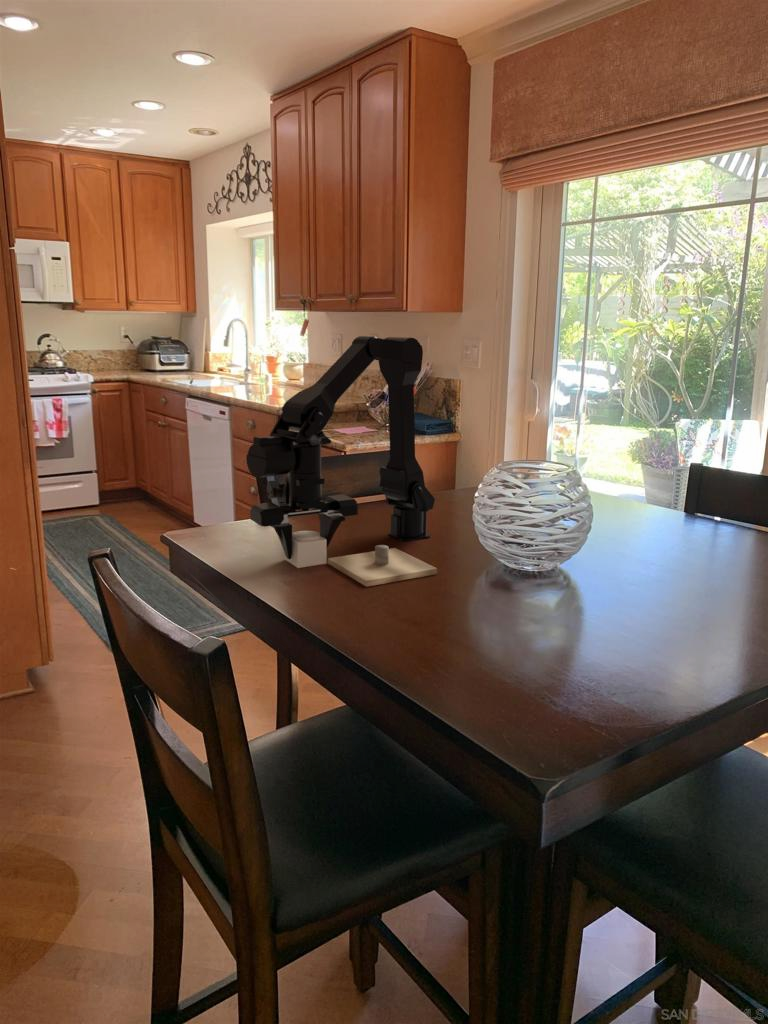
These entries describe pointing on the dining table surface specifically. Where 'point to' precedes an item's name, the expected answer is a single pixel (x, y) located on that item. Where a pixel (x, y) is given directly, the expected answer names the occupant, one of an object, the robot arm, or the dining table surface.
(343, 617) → the dining table surface
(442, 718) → the dining table surface
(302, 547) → the white domed square block
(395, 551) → the stud plate
